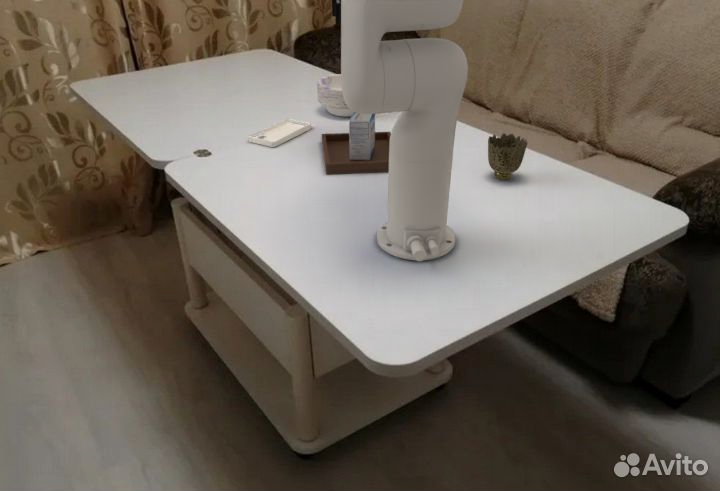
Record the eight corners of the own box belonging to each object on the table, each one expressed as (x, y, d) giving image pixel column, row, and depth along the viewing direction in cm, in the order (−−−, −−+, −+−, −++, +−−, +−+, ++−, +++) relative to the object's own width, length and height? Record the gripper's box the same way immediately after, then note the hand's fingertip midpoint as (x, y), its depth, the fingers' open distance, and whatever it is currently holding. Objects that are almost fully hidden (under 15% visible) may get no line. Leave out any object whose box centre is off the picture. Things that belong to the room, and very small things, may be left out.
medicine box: (370, 161, 124) (370, 121, 119) (349, 160, 124) (348, 120, 120) (374, 147, 130) (375, 109, 126) (354, 146, 131) (354, 108, 126)
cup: (493, 187, 114) (498, 148, 110) (477, 172, 120) (481, 134, 116) (528, 183, 116) (534, 144, 112) (510, 168, 122) (515, 131, 118)
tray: (403, 171, 121) (403, 161, 120) (326, 174, 119) (326, 164, 118) (389, 140, 136) (390, 131, 135) (321, 143, 134) (321, 133, 133)
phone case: (273, 147, 132) (312, 128, 143) (273, 142, 131) (312, 122, 142) (248, 141, 135) (287, 123, 146) (247, 136, 134) (287, 117, 145)
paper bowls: (385, 116, 150) (386, 85, 146) (329, 124, 146) (328, 91, 142) (363, 100, 163) (363, 70, 159) (310, 106, 158) (309, 76, 154)
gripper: (365, -73, 106) (364, 28, 115) (355, -77, 121) (355, 13, 129) (323, -73, 105) (325, 28, 114) (318, -77, 120) (321, 13, 129)
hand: (341, 20), depth 122 cm, fingers open, 9 cm apart
